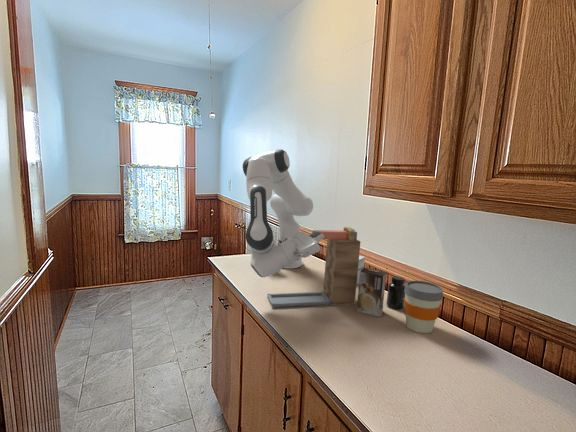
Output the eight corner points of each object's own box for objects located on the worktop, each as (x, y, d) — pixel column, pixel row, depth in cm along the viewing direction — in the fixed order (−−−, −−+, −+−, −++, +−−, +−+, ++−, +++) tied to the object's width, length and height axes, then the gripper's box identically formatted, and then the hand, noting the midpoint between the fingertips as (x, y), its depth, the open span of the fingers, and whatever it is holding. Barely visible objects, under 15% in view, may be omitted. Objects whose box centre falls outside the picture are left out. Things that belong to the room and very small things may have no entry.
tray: (267, 297, 134) (267, 293, 133) (322, 295, 140) (322, 291, 139) (272, 308, 124) (272, 304, 124) (331, 305, 130) (331, 301, 130)
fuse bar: (311, 237, 130) (312, 230, 130) (353, 237, 135) (354, 230, 134) (314, 239, 128) (314, 231, 127) (356, 239, 132) (357, 232, 132)
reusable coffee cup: (418, 338, 108) (423, 295, 106) (393, 320, 120) (397, 281, 117) (446, 332, 113) (452, 291, 111) (419, 316, 124) (424, 279, 122)
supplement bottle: (405, 311, 129) (408, 281, 127) (387, 308, 130) (390, 279, 128) (402, 304, 135) (405, 276, 134) (385, 301, 137) (388, 274, 135)
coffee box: (383, 311, 127) (387, 271, 125) (379, 317, 122) (384, 276, 119) (360, 305, 132) (363, 267, 129) (355, 311, 126) (359, 271, 123)
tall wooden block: (322, 295, 140) (328, 225, 135) (344, 294, 142) (350, 225, 138) (331, 305, 130) (337, 230, 126) (354, 303, 133) (361, 230, 128)
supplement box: (356, 285, 154) (359, 259, 152) (342, 281, 159) (344, 256, 157) (363, 281, 160) (365, 256, 158) (349, 277, 164) (351, 253, 162)
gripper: (294, 251, 117) (327, 232, 119) (281, 238, 136) (310, 222, 138) (302, 265, 118) (334, 247, 120) (288, 250, 138) (316, 234, 140)
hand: (321, 233), depth 130 cm, fingers closed on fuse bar, 3 cm apart
